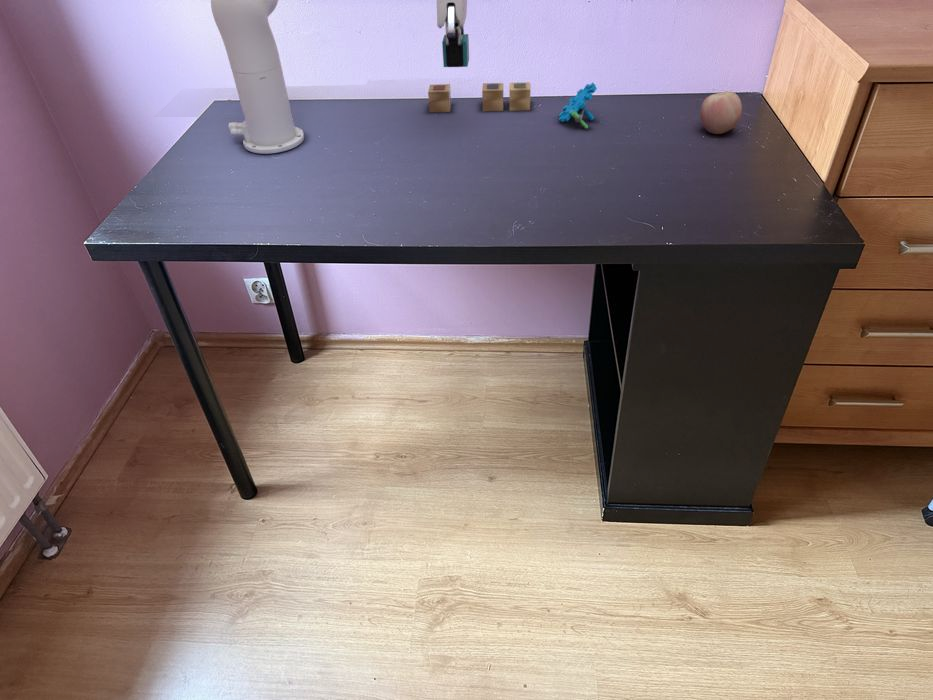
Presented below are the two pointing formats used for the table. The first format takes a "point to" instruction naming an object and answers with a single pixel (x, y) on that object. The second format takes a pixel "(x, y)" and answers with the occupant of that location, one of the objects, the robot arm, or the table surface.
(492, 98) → the beech block
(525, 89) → the beech block
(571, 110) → the blue flower
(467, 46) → the teal block
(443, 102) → the beech block
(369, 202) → the table surface
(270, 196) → the table surface
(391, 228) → the table surface
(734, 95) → the apple
